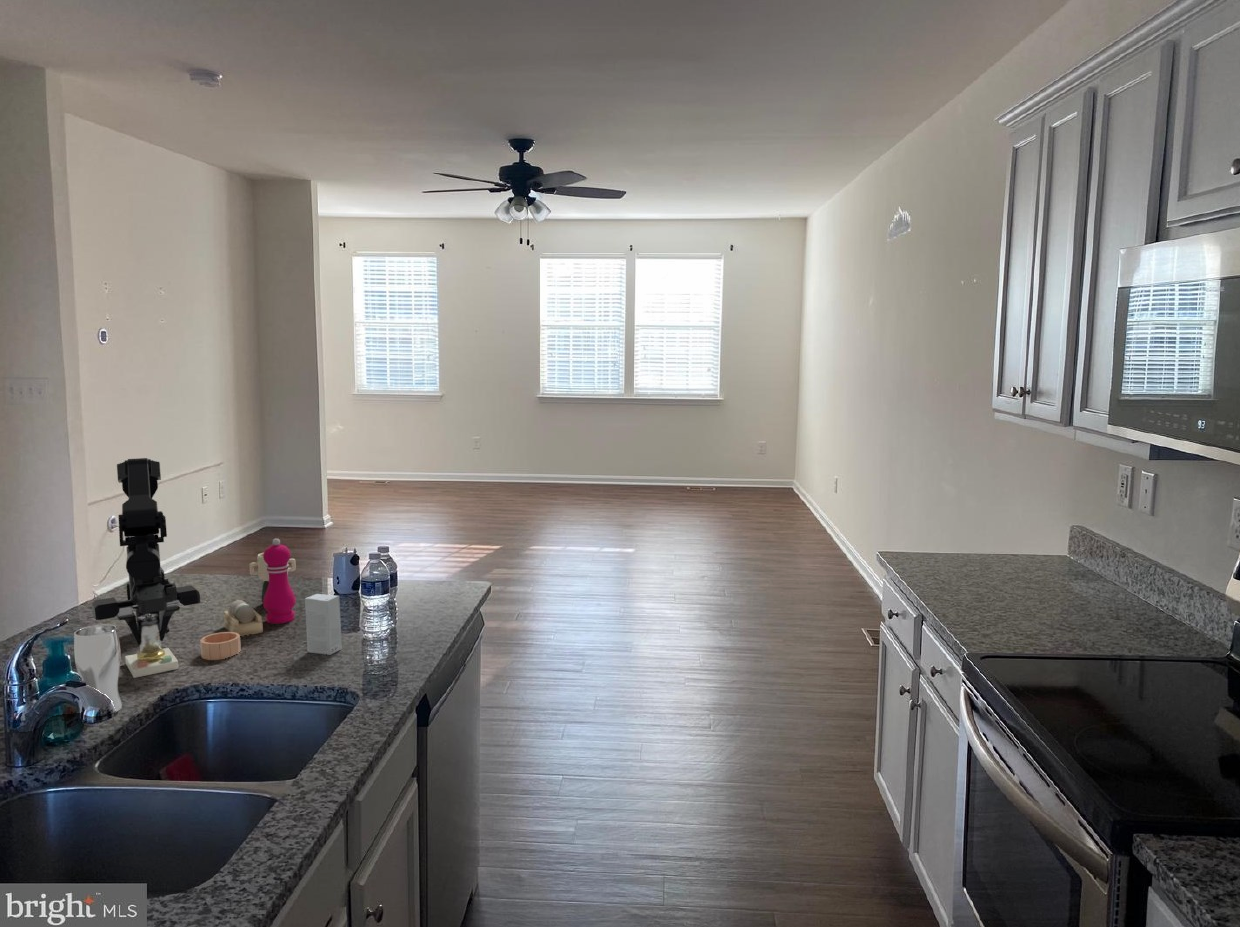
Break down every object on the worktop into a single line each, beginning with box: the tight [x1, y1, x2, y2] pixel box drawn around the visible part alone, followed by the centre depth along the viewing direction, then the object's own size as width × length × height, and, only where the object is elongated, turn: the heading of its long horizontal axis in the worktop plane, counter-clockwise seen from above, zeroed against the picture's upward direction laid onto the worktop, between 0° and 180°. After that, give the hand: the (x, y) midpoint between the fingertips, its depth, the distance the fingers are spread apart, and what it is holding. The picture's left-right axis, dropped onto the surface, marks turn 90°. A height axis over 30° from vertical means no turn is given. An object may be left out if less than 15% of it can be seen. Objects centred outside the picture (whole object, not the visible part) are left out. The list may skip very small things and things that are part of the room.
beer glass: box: [73, 623, 123, 713], centre depth 151 cm, size 7×7×15 cm
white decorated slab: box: [124, 647, 180, 679], centre depth 174 cm, size 10×8×2 cm
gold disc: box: [136, 648, 165, 661], centre depth 173 cm, size 5×5×1 cm
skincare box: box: [304, 593, 343, 656], centre depth 182 cm, size 6×4×12 cm
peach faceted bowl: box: [199, 631, 242, 661], centre depth 181 cm, size 8×8×4 cm
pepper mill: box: [262, 538, 296, 625], centre depth 202 cm, size 7×7×20 cm
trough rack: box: [223, 599, 264, 637], centre depth 196 cm, size 10×6×6 cm, turn 38°
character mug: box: [248, 552, 297, 603], centre depth 216 cm, size 11×7×13 cm, turn 116°
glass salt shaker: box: [137, 614, 162, 653], centre depth 173 cm, size 4×4×8 cm
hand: (150, 642), depth 173 cm, fingers closed on glass salt shaker, 4 cm apart
